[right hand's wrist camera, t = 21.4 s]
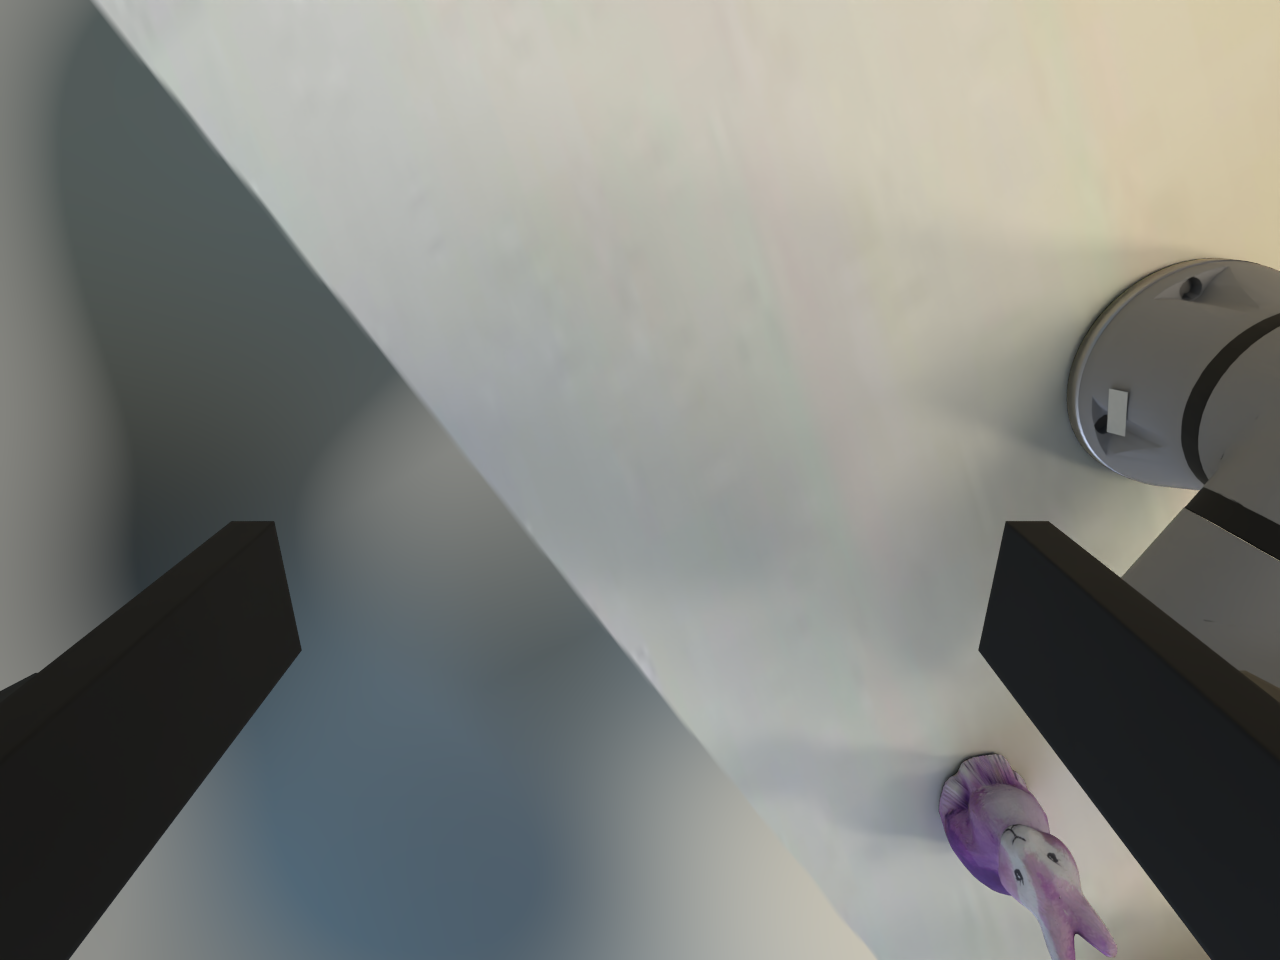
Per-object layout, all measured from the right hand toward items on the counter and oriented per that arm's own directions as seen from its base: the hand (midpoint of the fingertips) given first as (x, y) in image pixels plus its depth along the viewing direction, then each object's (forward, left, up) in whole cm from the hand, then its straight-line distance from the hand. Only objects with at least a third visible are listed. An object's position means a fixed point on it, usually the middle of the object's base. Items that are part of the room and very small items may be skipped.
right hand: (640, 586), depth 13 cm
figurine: (-42, +30, -36) cm, 63 cm away
